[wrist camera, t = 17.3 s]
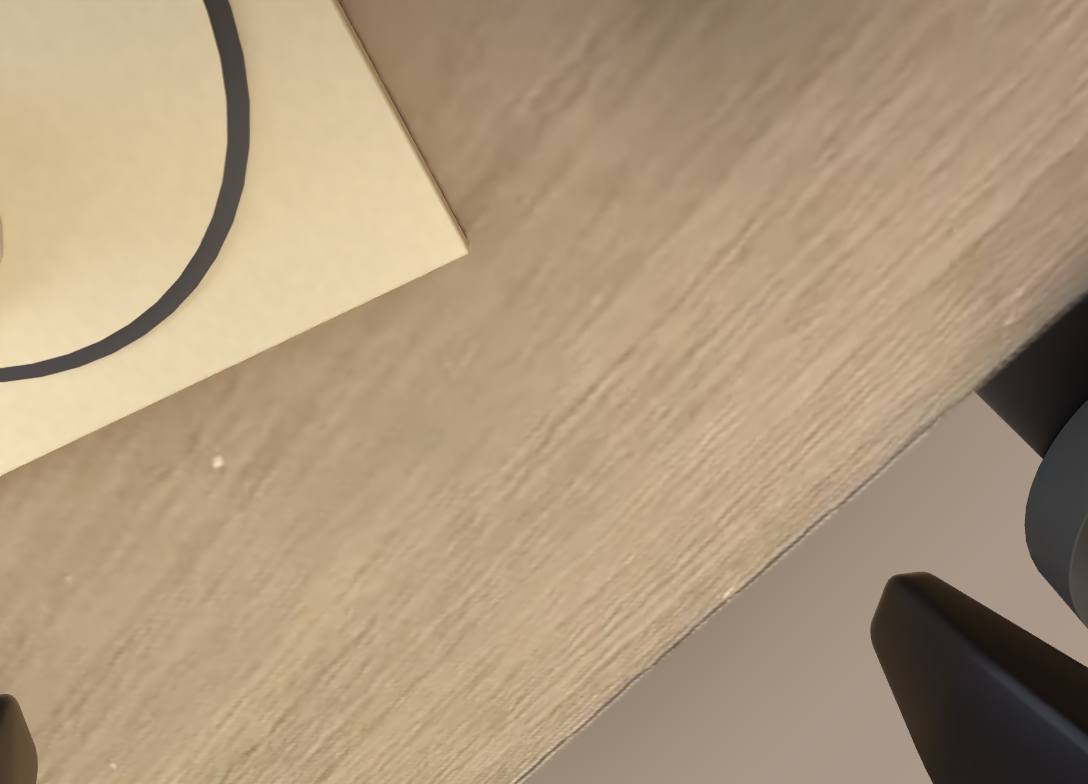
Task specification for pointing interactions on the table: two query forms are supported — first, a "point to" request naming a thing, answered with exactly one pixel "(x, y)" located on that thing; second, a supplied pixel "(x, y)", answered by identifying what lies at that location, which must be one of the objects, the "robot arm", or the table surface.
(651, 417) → the table surface
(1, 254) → the candle
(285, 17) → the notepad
